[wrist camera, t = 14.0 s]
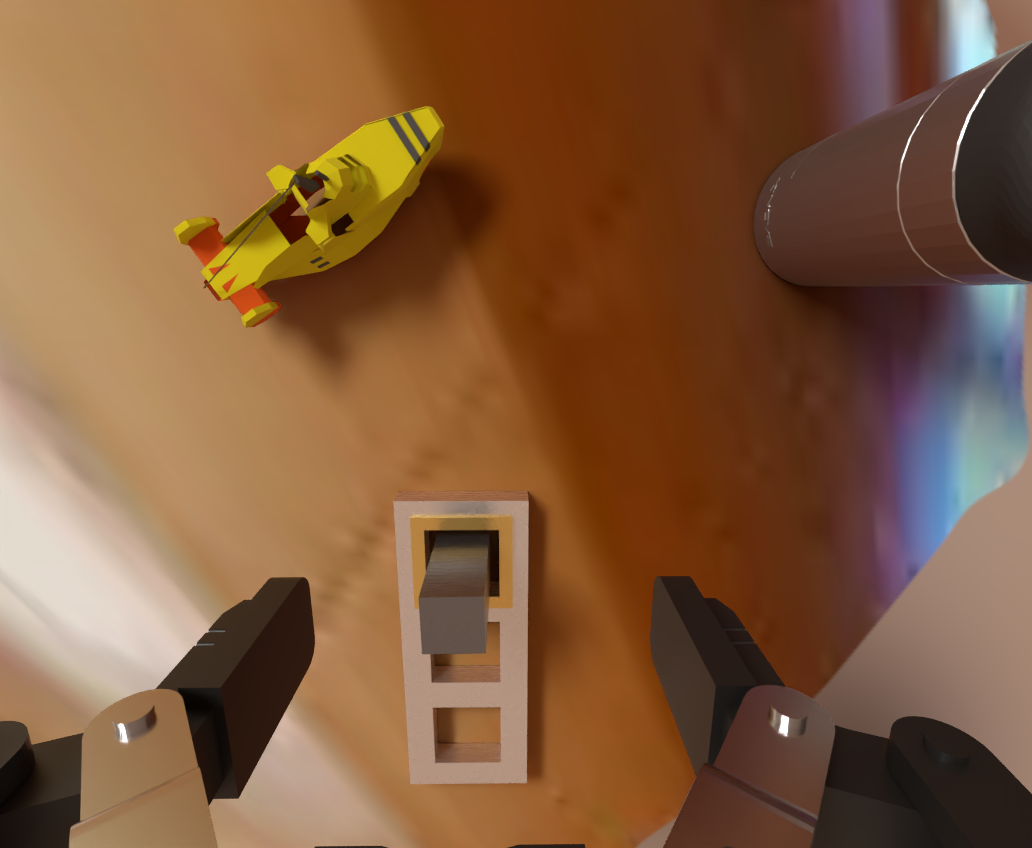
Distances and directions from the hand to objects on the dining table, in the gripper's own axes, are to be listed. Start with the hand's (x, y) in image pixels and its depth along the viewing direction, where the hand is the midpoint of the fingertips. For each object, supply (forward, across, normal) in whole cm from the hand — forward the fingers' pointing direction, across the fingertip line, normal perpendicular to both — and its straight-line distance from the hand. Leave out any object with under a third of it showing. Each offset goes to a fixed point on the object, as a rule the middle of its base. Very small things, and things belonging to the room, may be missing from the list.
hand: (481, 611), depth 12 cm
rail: (+28, +3, +21) cm, 35 cm away
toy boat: (+28, +11, -12) cm, 33 cm away
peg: (+28, +3, +13) cm, 31 cm away
